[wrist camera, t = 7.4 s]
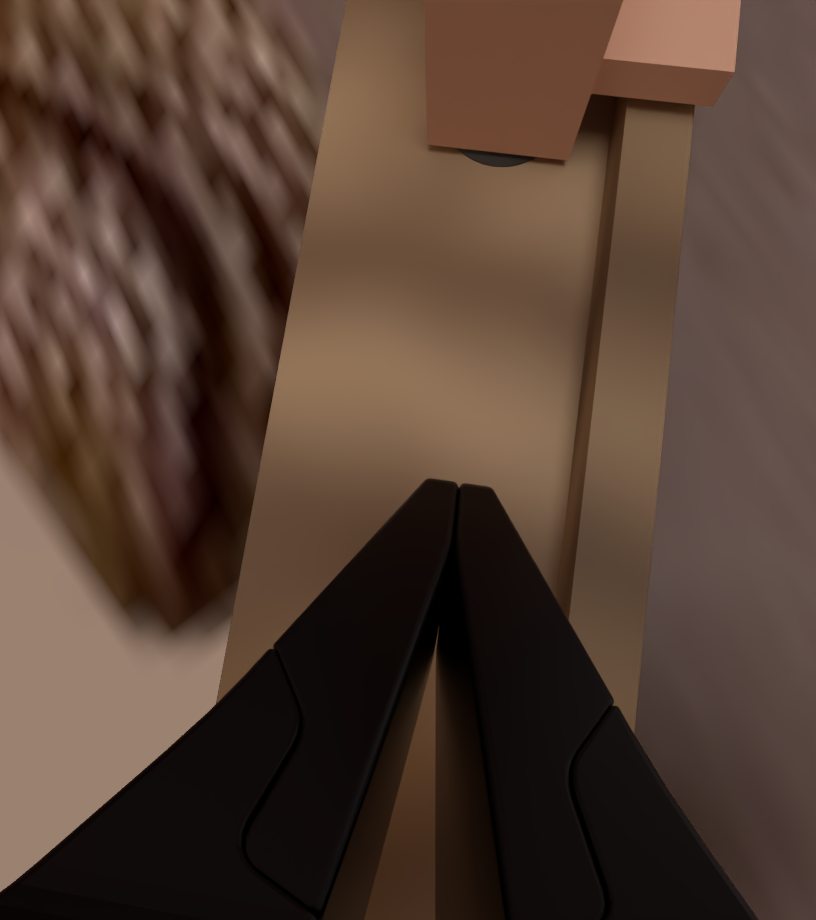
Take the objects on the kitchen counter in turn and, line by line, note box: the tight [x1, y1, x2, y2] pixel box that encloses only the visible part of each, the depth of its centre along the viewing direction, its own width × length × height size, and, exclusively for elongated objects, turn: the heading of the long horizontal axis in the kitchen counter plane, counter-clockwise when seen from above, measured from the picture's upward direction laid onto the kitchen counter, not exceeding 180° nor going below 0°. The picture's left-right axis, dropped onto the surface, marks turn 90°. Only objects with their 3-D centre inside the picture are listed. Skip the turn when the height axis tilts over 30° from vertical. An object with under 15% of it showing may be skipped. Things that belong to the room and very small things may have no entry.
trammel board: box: [216, 0, 695, 920], centre depth 11 cm, size 32×9×11 cm, turn 171°
